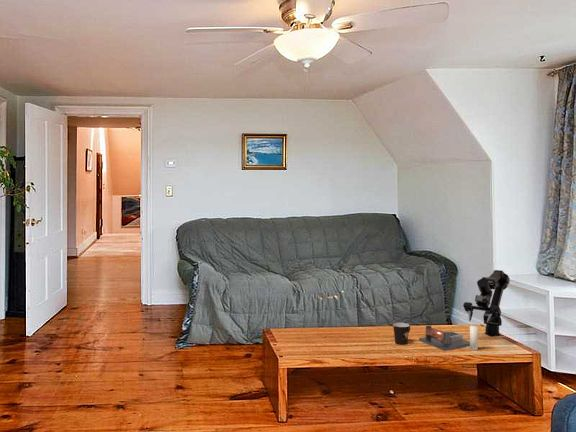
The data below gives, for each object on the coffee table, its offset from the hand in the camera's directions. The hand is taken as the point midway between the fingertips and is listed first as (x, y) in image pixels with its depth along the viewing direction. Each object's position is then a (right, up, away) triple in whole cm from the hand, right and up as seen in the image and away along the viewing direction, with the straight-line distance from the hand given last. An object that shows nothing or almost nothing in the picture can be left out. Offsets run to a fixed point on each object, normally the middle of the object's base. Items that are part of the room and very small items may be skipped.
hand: (478, 322), depth 275 cm
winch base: (-15, -13, +6) cm, 21 cm away
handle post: (-4, -13, -5) cm, 15 cm away
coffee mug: (-38, -13, +7) cm, 41 cm away
